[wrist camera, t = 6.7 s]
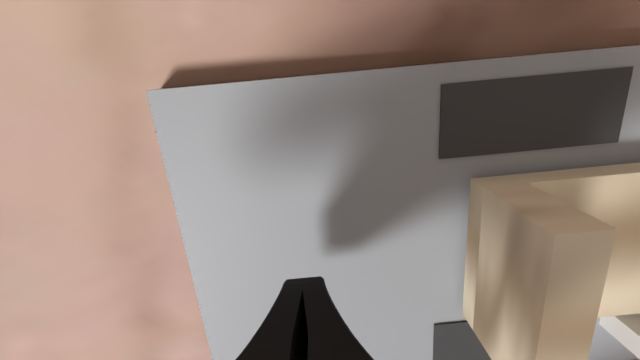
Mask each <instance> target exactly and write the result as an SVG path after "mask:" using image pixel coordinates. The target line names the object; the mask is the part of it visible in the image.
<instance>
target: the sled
mask: <svg viewBox="0 0 640 360" xmlns="http://www.w3.org/2000/svg"><path fill="white" fill-rule="evenodd" d="M638 313H640V162H638V163H628V164H617V165H607V166H596V167H586V168H575V169H565V170H554V171H544V172H533V173H523V174H512V175H502V176H491V177H481V178H471V181H470V197H469V213H468V229H467V245H466V260H465V276H464V292H463V308H462V314H463V316H464V317H465V319H466V320H467V322H468V323H469V325H470V327H471V328H472V330H473V331H474V333H475V334H476V336H477V337H478V339H479V341H480V342H481V344H482V345H483V347H484V348H485V350H486V352H487V353H488V355H489V356H490V358H491V359H492V360H588V357H589V352H590V348H591V343H592V339H593V334H594V330H595V325H596V321H597V318H599V317H609V316H619V315H628V314H638Z"/></svg>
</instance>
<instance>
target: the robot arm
mask: <svg viewBox="0 0 640 360" xmlns="http://www.w3.org/2000/svg"><path fill="white" fill-rule="evenodd" d="M236 360H374V359H373V358H372V357H371V356H370V354H369V353H368V352H367V351H366V350H365V349H364V347H363V346H362V345H361V344H360V343H359V341H358V340H357V339H356V337H355V336H354V335H353V333H352V332H351V330H350V329H349V328H348V326H347V325H346V323H345V322H344V320H343V319H342V317H341V315H340V314H339V312H338V310H337V308H336V307H335V305H334V303H333V301H332V299H331V297H330V295H329V293H328V290H327V288H326V285H325V281H324V278H322V277H321V276H318V277H307V278H297V279H287V280H286V281H285V282H284V284H283V286H282V288H281V290H280V293H279V295H278V297H277V298H276V300H275V302H274V304H273V306H272V308H271V309H270V311H269V313H268V314H267V316H266V318H265V319H264V321H263V323H262V324H261V326H260V327H259V329H258V330H257V332H256V333H255V334H254V336H253V337H252V339H251V340H250V342H249V343H248V344H247V346H246V347H245V348H244V350H243V351H242V352H241V354H240V355H239V356H238V357H237V358H236Z"/></svg>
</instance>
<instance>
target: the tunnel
mask: <svg viewBox="0 0 640 360" xmlns="http://www.w3.org/2000/svg"><path fill="white" fill-rule="evenodd" d="M599 324H600V325H601V326H602V327H603V328H604V329H605V330H606V331H608V332H609V333H610V334H611V335H612V336H613V337H614V338H616V339H617V340H618V341H619V342H620V343H621V344H622V345H624V346H625V347H626V348H627V349H628V350H629V351H630V352H632V353H633V354H634V355H635V356H636V357H637V358H638V359H640V313H638V314H628V315H619V316H609V317H600V322H599Z"/></svg>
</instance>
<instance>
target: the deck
mask: <svg viewBox="0 0 640 360" xmlns="http://www.w3.org/2000/svg"><path fill="white" fill-rule="evenodd" d="M146 93H147V97H148V101H149V105H150V109H151V113H152V117H153V121H154V125H155V129H156V133H157V137H158V141H159V145H160V149H161V153H162V157H163V162H164V166H165V170H166V174H167V178H168V182H169V186H170V190H171V194H172V198H173V202H174V206H175V210H176V214H177V218H178V222H179V226H180V230H181V235H182V239H183V243H184V247H185V251H186V255H187V259H188V263H189V267H190V271H191V275H192V279H193V283H194V287H195V291H196V295H197V299H198V303H199V307H200V312H201V316H202V320H203V324H204V328H205V332H206V336H207V340H208V344H209V348H210V352H211V356H212V360H236V358H237V357H238V356H239V355H240V354H241V352H242V351H243V350H244V348H245V347H246V346H247V344H248V343H249V342H250V340H251V339H252V337H253V336H254V334H255V333H256V332H257V330H258V329H259V327H260V326H261V324H262V323H263V321H264V319H265V318H266V316H267V314H268V313H269V311H270V309H271V308H272V306H273V304H274V302H275V300H276V298H277V297H278V295H279V293H280V290H281V288H282V286H283V284H284V282H285V281H286V280H287V279H297V278H307V277H318V276H321V277H322V278H324V281H325V285H326V288H327V290H328V293H329V295H330V297H331V299H332V301H333V303H334V305H335V307H336V308H337V310H338V312H339V314H340V315H341V317H342V319H343V320H344V322H345V323H346V325H347V326H348V328H349V329H350V330H351V332H352V333H353V335H354V336H355V337H356V339H357V340H358V341H359V343H360V344H361V345H362V346H363V347H364V349H365V350H366V351H367V352H368V353H369V354H370V356H371V357H372V358H373V359H374V360H492V359H491V358H490V356H489V355H488V353H487V352H486V350H485V348H484V347H483V345H482V344H481V342H480V341H479V339H478V337H477V336H476V334H475V333H474V331H473V330H472V328H471V327H470V325H469V323H468V322H467V320H466V319H465V317H464V316H463V314H462V308H463V292H464V276H465V260H466V245H467V229H468V213H469V197H470V181H471V178H481V177H491V176H502V175H512V174H523V173H533V172H544V171H554V170H565V169H575V168H586V167H596V166H607V165H617V164H628V163H638V162H640V45H633V46H622V47H611V48H600V49H589V50H578V51H568V52H557V53H546V54H535V55H524V56H513V57H502V58H491V59H480V60H469V61H458V62H447V63H436V64H425V65H415V66H404V67H393V68H382V69H371V70H360V71H349V72H338V73H327V74H316V75H305V76H294V77H283V78H272V79H262V80H251V81H240V82H229V83H218V84H207V85H196V86H185V87H174V88H163V89H155V90H148V91H146ZM599 322H600V317H599V318H597V321H596V325H595V330H594V334H593V339H592V343H591V348H590V352H589V357H588V360H634V359H638V358H637V357H636V356H635V355H634V354H633V353H632V352H630V351H629V350H628V349H627V348H626V347H625V346H624V345H622V344H621V343H620V342H619V341H618V340H617V339H616V338H614V337H613V336H612V335H611V334H610V333H609V332H608V331H606V330H605V329H604V328H603V327H602V326H601V325H600V324H599Z"/></svg>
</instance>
